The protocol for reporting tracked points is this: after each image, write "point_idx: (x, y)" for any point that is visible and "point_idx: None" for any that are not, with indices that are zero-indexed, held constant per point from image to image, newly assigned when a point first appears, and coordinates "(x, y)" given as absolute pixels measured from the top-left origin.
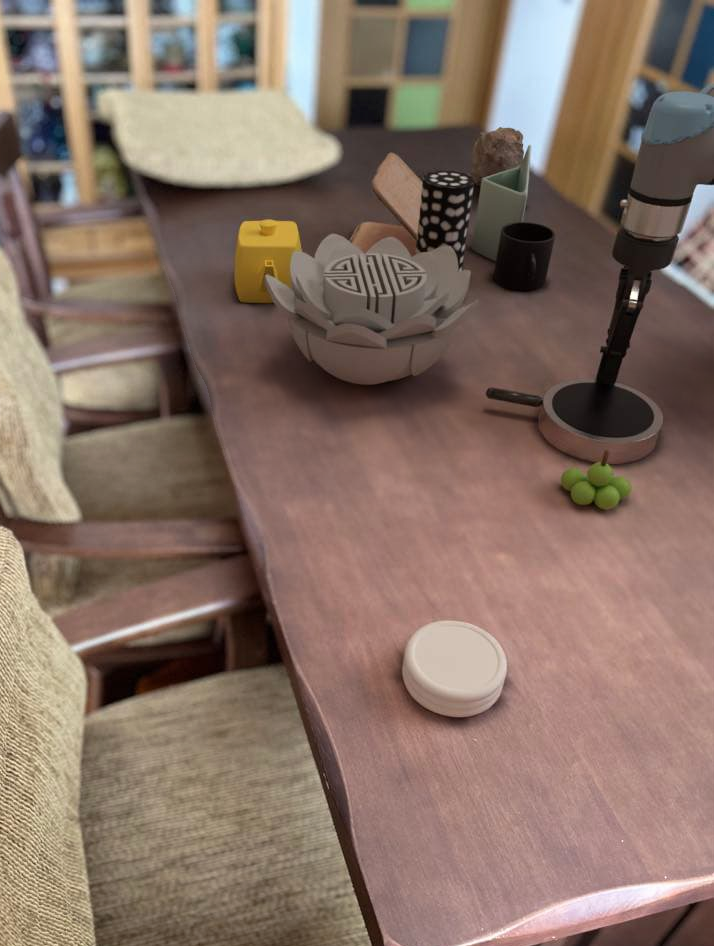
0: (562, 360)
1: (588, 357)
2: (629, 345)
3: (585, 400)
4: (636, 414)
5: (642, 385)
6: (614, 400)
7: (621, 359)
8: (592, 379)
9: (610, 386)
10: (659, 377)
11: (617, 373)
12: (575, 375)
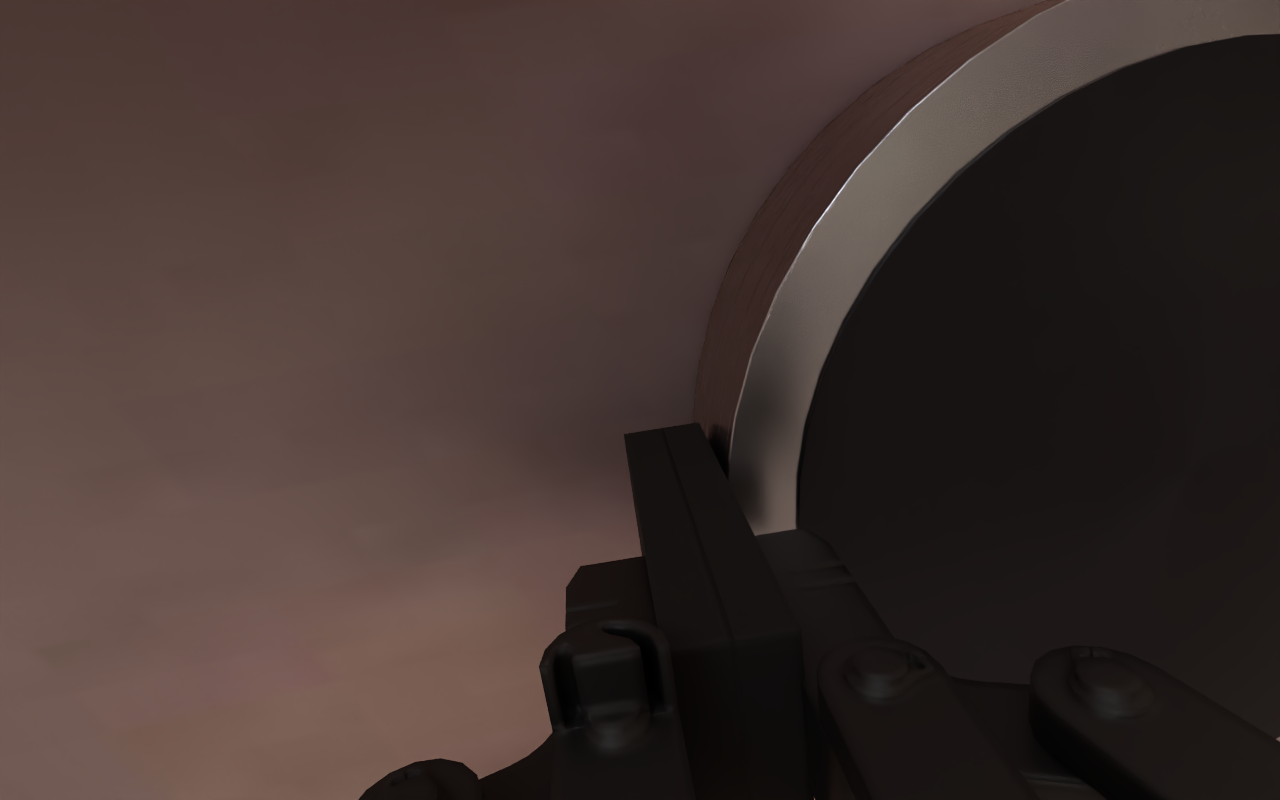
0: (285, 768)
1: (127, 649)
2: (639, 650)
3: (1107, 602)
4: (1227, 202)
5: (301, 221)
6: (1045, 414)
7: (782, 595)
8: None
9: (825, 487)
10: (69, 103)
11: (739, 507)
12: (435, 660)
